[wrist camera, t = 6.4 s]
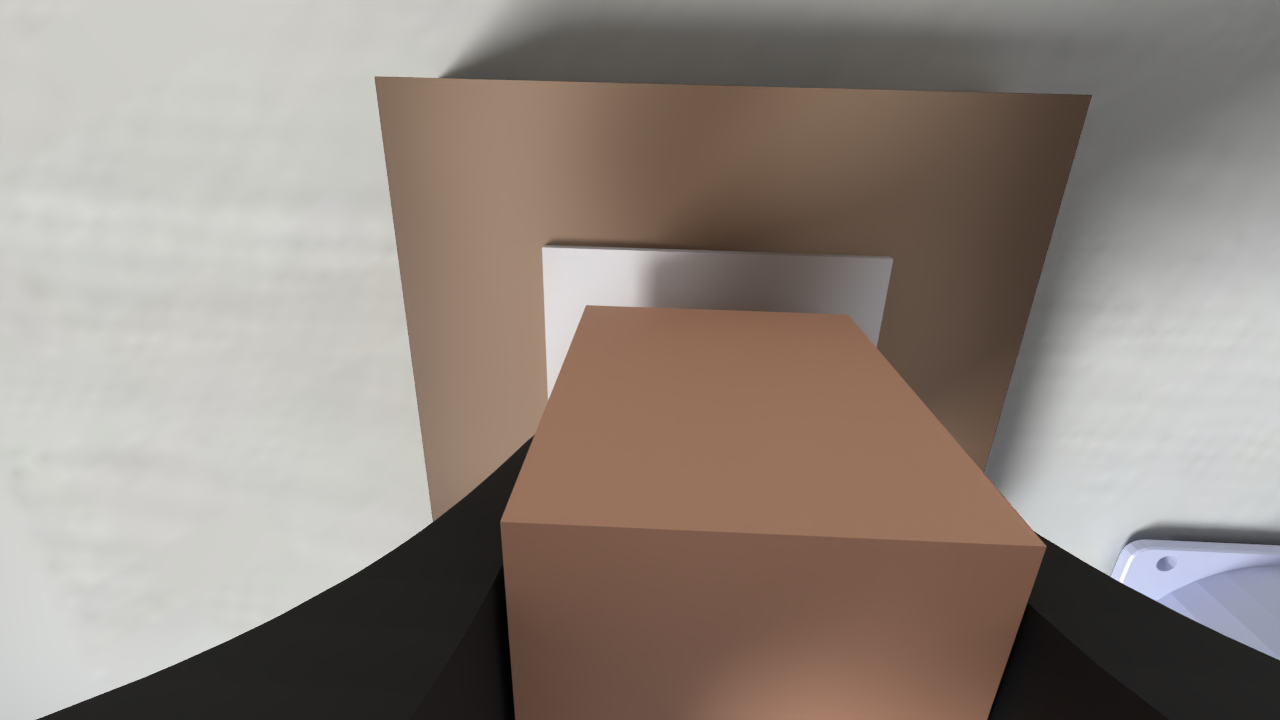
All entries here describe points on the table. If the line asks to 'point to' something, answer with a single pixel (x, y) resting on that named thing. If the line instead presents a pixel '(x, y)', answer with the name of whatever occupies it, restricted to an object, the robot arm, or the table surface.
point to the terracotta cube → (753, 532)
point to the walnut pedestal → (710, 232)
